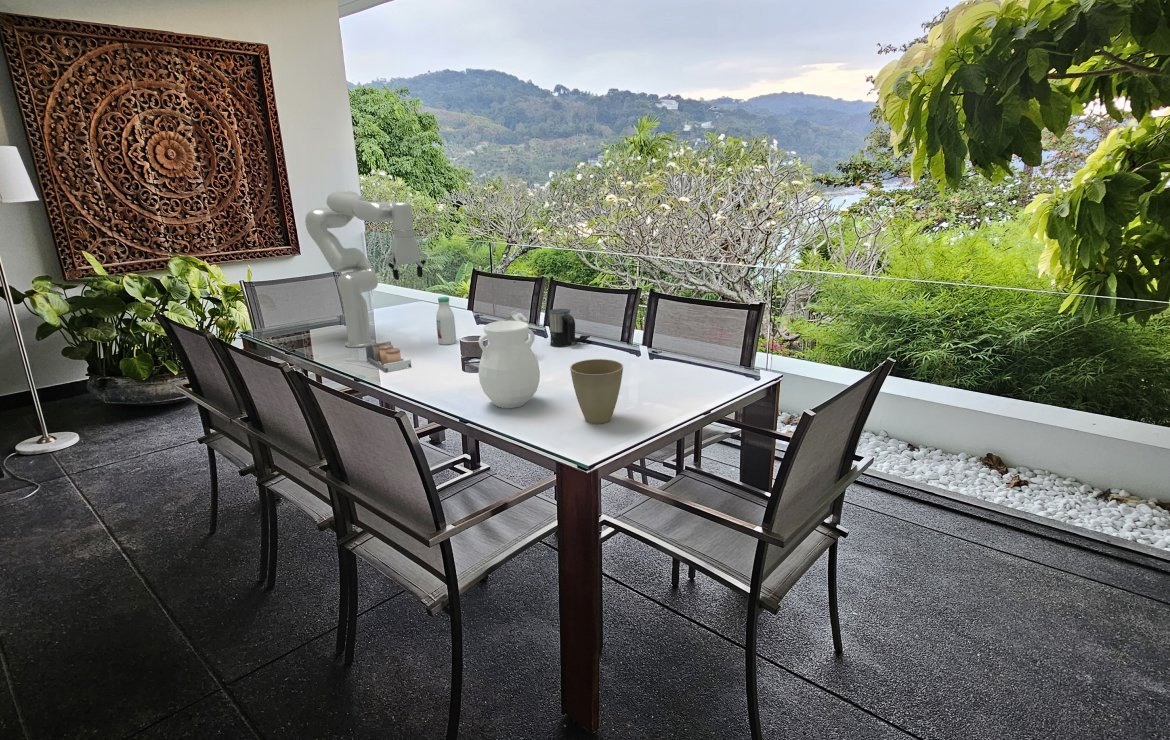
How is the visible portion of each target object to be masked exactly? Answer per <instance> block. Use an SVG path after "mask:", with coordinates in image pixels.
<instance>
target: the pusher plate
mask: <svg viewBox="0 0 1170 740" xmlns="http://www.w3.org/2000/svg"><path fill="white" fill-rule="evenodd" d="M387 344H390V345H392V341H390V340H389V341H383V342H375V343H374V344H372V345H371V346H372V347H373V355H374V360H375V361H377V362H378V363H379V362H381V358H380V349H379V346H381V345H387Z"/></svg>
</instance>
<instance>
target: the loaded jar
mask: <svg viewBox="0 0 1170 740" xmlns="http://www.w3.org/2000/svg"><path fill="white" fill-rule="evenodd" d="M385 351H386V356H387V363H393V362H398V361H401V348H400V347H399V348H398V347H395V348H394V347H393V348H391V349H387V350H385Z"/></svg>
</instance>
